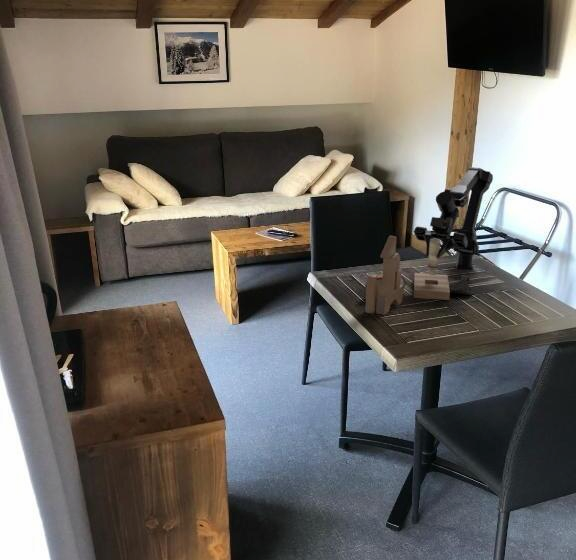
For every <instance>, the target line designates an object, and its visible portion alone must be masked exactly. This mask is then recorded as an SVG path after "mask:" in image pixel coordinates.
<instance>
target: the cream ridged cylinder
mask: <svg viewBox="0 0 576 560" xmlns="http://www.w3.org/2000/svg"><path fill="white" fill-rule="evenodd" d="M440 248H441V239H435V238H434V239H430V245H429V256H428V257H427V259H428V260H427V268H428V269H427V270H428V271H427V274H430V275H436V274H438V273H437V272H438V268H439V262H440V258H439V259H437V255H438V252H439V250H440Z"/></svg>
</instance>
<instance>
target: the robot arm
mask: <svg viewBox="0 0 576 560" xmlns="http://www.w3.org/2000/svg"><path fill="white" fill-rule="evenodd" d="M493 179H494V175H493V174H492V173H491V171H488V170H484V169H483V168H481V167H476V166H475V167H474V166H473V167H468V168H467V170H466V173H465V174H464V176H463V177H462V178H461V180H460V182H459V183H458V184H456V186H453V187H450V188H449V189H447V188H445V189H444V191H441V192H440V193H438V194H437V195H436V197H435V202H436V205H437V207H438V210H439V212H441V213H440V216H439V217H434V216H432V217H431V220H430V225H429V226H430V227H431V230H432V231H433V232H432V231H430V230H429V229H428V228H427V227H424V226H423V227H422V226H416V227H415V228H414V231H413V234H414V236H415V238H416V240H418V241H421V242H425V244H426V248H425V249H426V252H425V253H426V254H425V255H426V257H427V258H428V257H429V245H430V239H439V240H440V241H441V240H442V244H441V245H440V250H439V252H438V255H437V259H439V260H440V258H441V257H443V256H444V255H445V254H446V253H447V252H448V251H450V250H451V249H453V252H457V253H458V254H457V262H455V266H456V269H467V270H474V265H473V257H474V256H475V255H478V254H479V250H480V246H479V243H478V235H477V233H476V225H477V221H478V217H479V214H480V209H481V204H482V200H483V197H484V194H485V193H486V192H487V191H488V190H489V189H490V186H491V184H492V183H493ZM470 191H471V192H470ZM469 193H470V197H469V196H468V194H469ZM466 205H467V207H466V213H465V216H464V221H463V224H462V227H461V228H460V229H457V231H456V232H454V233H453V235H451V234H452V231H454V230H455V227H454V226H455V224H456V222H457V219H458V218H459V217H460V210H459V208H464V207H465V206H466Z"/></svg>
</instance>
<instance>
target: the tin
mask: <svg viewBox="0 0 576 560" xmlns="http://www.w3.org/2000/svg"><path fill="white" fill-rule="evenodd" d="M375 275H376V276H377V287H378V286H379V284H380V282H381V280H382V276H383V273H380V274H375ZM400 285H403V291H404V290H405V287H406V280H405V278H404V277H403V276H402V275H401V282H400ZM377 287H376V300H377ZM364 290H365V292H366V290H367V281H366V282H365V285H364Z"/></svg>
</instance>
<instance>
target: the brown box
mask: <svg viewBox="0 0 576 560" xmlns="http://www.w3.org/2000/svg"><path fill="white" fill-rule="evenodd" d="M413 278H414V279H413V299H426V300H427V299H428V300H439V301H441V300H443V301H444V300H445V301H450V295H451V292H450V284H449V277H448V274H438V273H437V274H436V275H430V274H428V273H420V272H419V273H418V272H415V273H414V277H413Z"/></svg>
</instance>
